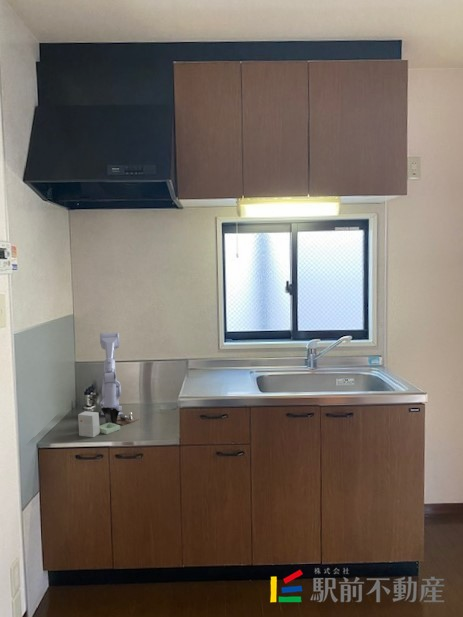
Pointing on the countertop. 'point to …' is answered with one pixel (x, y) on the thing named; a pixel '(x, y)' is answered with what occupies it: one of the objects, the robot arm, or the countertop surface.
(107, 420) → the block
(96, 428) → the small box
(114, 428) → the tray
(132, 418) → the crank
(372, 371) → the countertop surface
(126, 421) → the crank base
